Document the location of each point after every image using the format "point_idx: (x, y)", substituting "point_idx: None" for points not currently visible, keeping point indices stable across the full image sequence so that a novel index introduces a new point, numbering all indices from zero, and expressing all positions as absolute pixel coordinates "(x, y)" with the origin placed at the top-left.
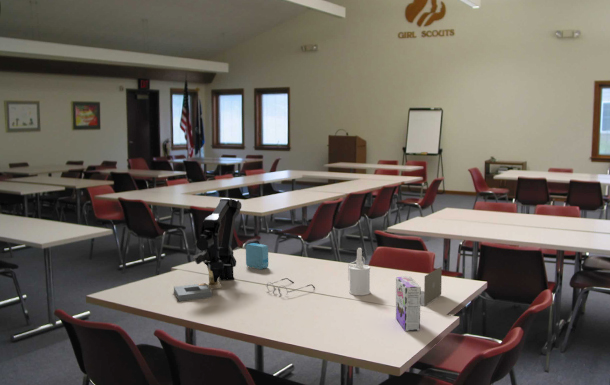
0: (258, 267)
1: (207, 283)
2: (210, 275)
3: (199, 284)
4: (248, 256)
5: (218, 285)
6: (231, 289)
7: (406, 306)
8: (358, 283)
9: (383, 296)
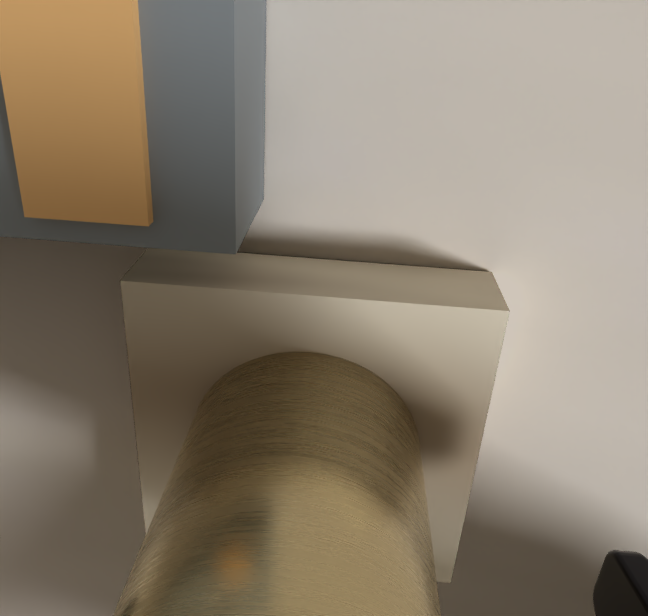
0: None
1: (418, 339)
2: (141, 607)
3: (78, 4)
4: None
5: (147, 499)
6: (18, 596)
7: None
8: None
9: None
